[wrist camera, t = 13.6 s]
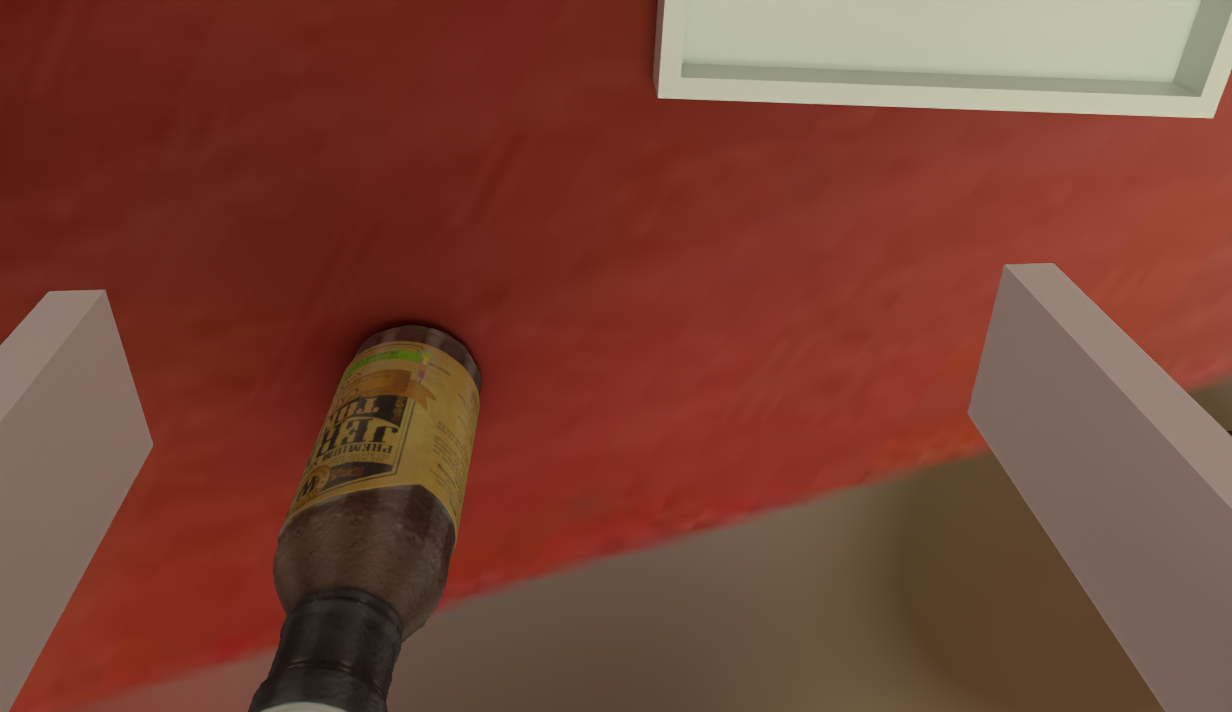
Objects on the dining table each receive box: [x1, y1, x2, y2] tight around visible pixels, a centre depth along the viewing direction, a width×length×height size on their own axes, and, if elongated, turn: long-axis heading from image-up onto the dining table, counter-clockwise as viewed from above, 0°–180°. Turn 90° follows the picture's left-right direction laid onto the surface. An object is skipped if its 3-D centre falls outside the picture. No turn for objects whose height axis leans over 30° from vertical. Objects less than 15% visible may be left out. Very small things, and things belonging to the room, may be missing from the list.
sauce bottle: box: [248, 325, 481, 712], centre depth 36 cm, size 6×6×20 cm
